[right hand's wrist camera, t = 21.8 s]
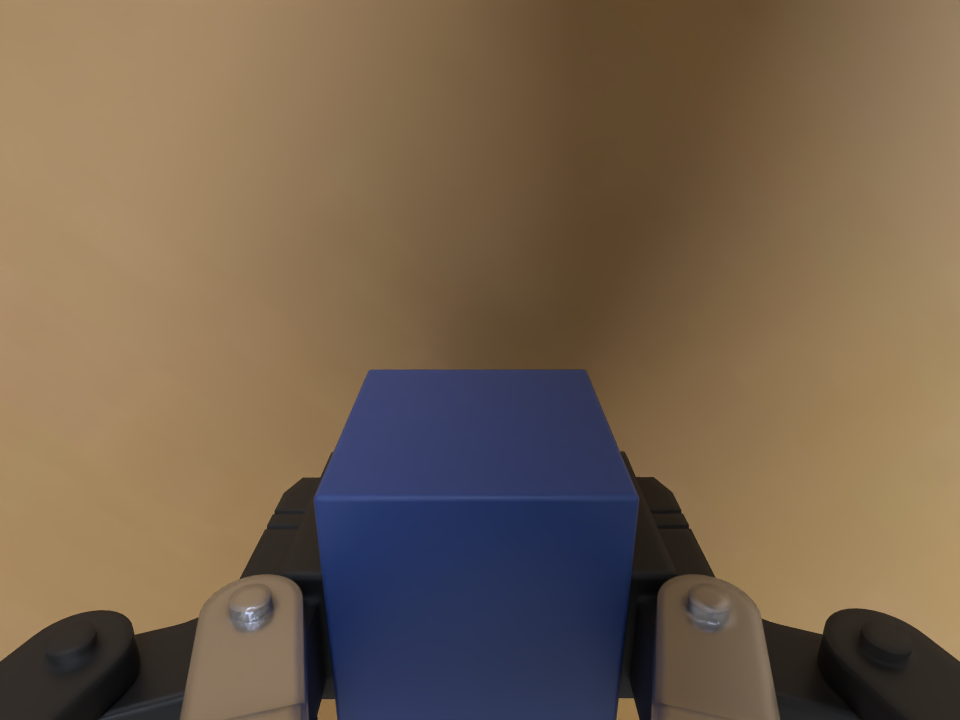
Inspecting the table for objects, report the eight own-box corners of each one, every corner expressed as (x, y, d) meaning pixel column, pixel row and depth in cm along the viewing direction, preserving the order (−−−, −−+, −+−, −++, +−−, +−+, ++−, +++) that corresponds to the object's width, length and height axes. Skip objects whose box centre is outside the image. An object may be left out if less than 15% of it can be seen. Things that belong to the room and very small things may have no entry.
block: (367, 368, 12) (311, 496, 8) (586, 368, 12) (641, 497, 8) (382, 586, 14) (342, 781, 10) (572, 586, 14) (611, 781, 10)
